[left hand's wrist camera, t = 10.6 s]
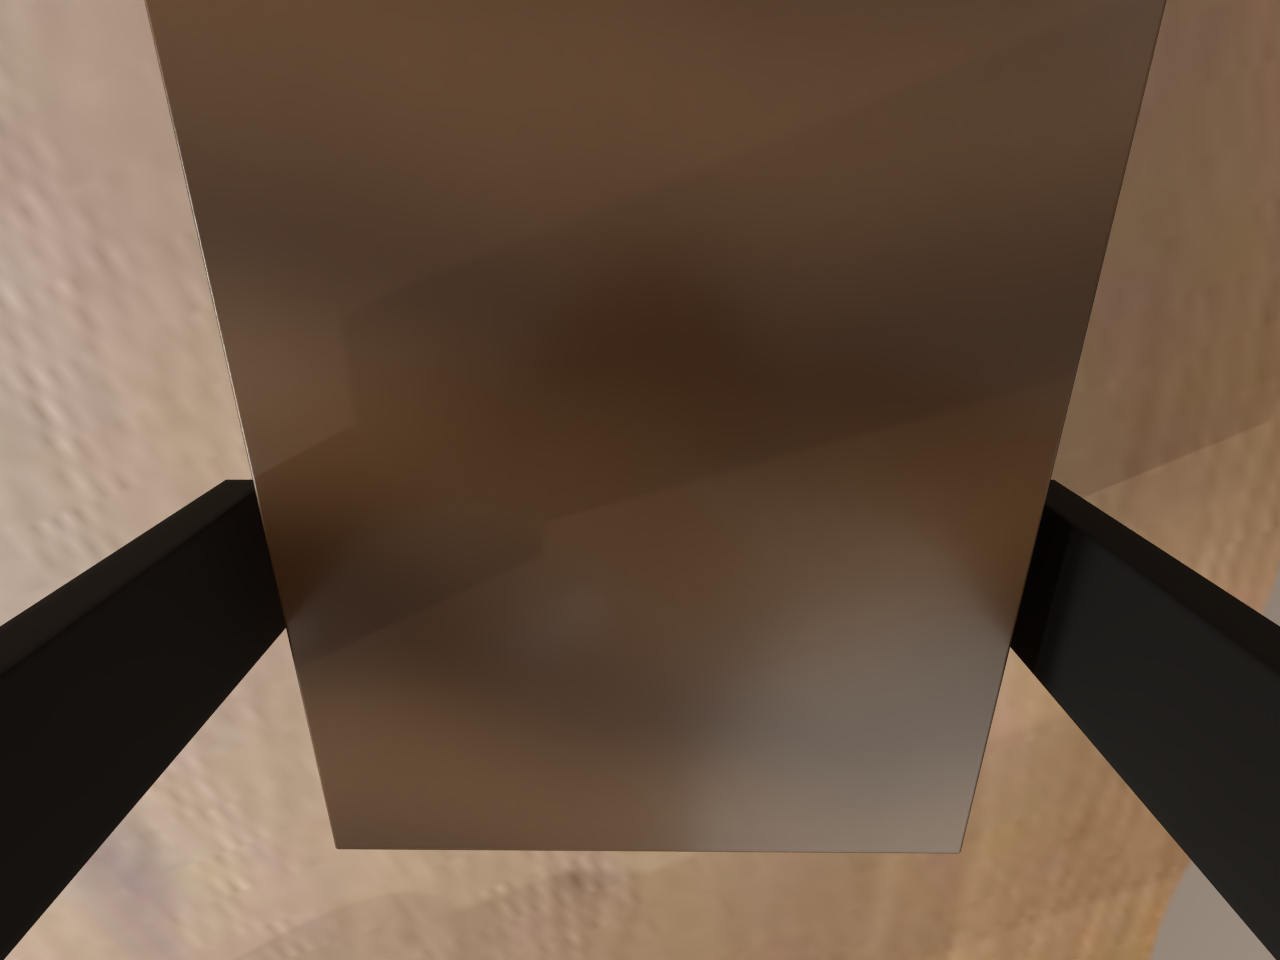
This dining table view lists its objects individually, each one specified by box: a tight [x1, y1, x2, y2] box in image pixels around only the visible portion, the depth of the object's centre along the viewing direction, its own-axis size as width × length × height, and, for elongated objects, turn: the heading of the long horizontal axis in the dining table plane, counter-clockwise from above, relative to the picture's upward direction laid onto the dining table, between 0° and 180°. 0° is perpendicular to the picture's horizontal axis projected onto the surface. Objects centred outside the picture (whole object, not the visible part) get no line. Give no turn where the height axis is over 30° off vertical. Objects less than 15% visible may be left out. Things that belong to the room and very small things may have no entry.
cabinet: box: [145, 0, 1166, 853], centre depth 12 cm, size 19×11×8 cm, turn 0°
